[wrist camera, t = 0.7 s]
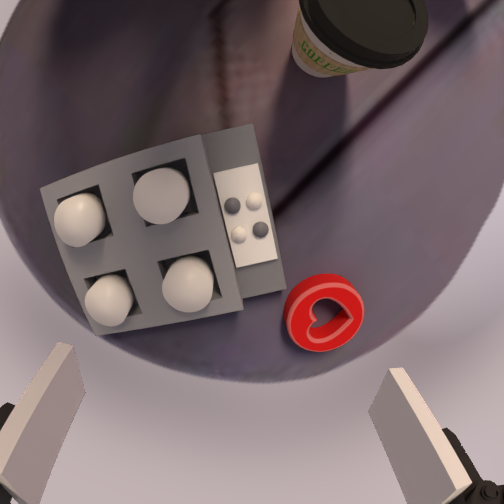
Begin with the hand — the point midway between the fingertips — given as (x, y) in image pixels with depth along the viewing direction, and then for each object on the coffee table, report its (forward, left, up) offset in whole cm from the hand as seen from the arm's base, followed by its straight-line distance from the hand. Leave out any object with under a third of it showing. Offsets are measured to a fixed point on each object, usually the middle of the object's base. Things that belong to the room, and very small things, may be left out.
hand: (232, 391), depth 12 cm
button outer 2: (+3, -5, -20) cm, 21 cm away
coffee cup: (-18, +13, -24) cm, 33 cm away
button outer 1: (+3, -14, -20) cm, 25 cm away
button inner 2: (-6, -5, -20) cm, 22 cm away
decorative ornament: (+12, +8, -25) cm, 29 cm away
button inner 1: (-6, -14, -20) cm, 25 cm away
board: (-2, -7, -24) cm, 25 cm away
